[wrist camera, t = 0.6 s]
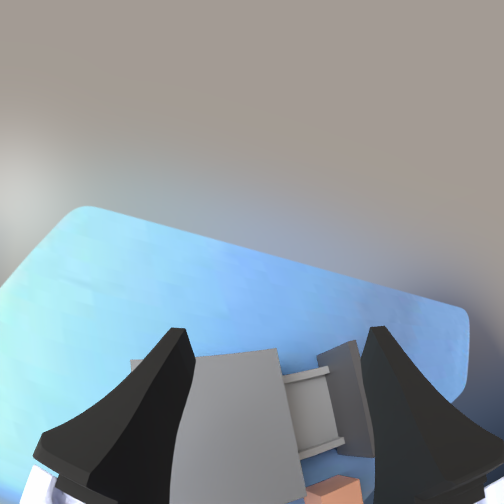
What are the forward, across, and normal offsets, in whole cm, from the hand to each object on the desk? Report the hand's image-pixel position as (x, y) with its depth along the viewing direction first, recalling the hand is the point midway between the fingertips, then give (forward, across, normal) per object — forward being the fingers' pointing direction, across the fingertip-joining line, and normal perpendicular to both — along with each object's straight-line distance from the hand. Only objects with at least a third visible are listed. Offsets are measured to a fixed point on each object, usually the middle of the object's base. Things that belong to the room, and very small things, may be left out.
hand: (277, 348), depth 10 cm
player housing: (+3, +7, +16) cm, 18 cm away
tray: (+6, -1, +18) cm, 19 cm away
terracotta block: (-2, -5, +25) cm, 25 cm away
